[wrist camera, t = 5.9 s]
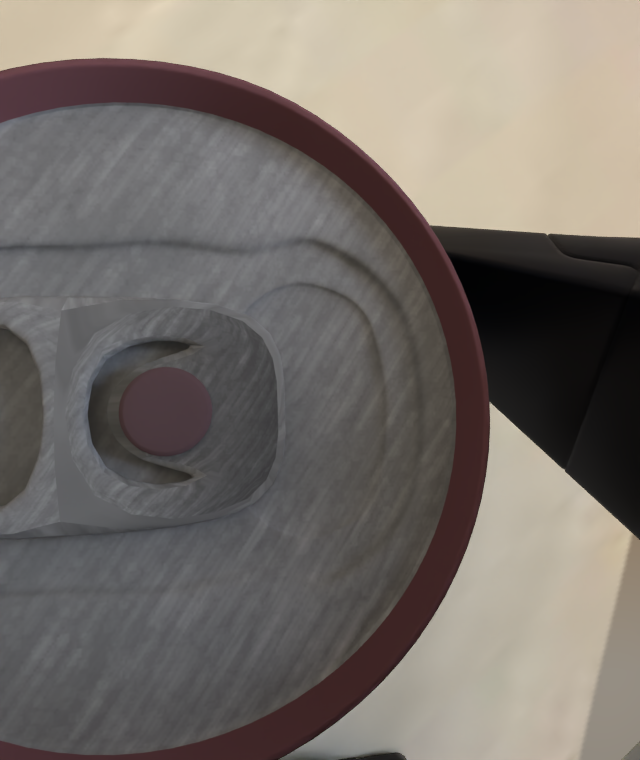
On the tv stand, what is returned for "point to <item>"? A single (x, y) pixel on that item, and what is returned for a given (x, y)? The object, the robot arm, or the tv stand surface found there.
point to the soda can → (215, 417)
